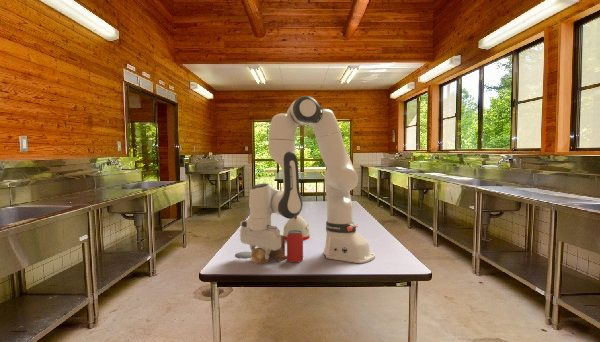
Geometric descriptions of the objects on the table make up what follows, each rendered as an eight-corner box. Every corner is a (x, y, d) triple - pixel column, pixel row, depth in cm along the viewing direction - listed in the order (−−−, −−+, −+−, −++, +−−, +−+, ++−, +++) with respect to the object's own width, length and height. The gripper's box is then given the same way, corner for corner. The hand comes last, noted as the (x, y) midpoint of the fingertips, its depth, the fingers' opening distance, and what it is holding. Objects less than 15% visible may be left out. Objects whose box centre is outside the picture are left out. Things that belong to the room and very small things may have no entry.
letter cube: (269, 260, 139) (268, 248, 139) (260, 264, 135) (260, 250, 135) (260, 258, 142) (260, 246, 142) (251, 261, 138) (251, 248, 138)
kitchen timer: (310, 234, 184) (310, 207, 183) (308, 241, 170) (308, 211, 170) (285, 234, 185) (285, 207, 185) (281, 240, 172) (281, 211, 171)
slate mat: (260, 254, 147) (260, 254, 147) (244, 259, 140) (244, 259, 140) (245, 250, 153) (245, 250, 153) (230, 255, 146) (230, 255, 146)
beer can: (294, 257, 144) (294, 229, 143) (306, 260, 140) (306, 231, 139) (283, 260, 139) (283, 231, 138) (295, 264, 135) (295, 234, 134)
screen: (287, 258, 142) (287, 234, 141) (279, 261, 138) (279, 237, 137) (268, 253, 149) (268, 231, 148) (260, 256, 145) (260, 233, 144)
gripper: (284, 225, 134) (284, 260, 134) (248, 219, 146) (248, 251, 147) (273, 228, 129) (274, 264, 129) (237, 221, 141) (237, 254, 142)
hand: (260, 257), depth 138 cm, fingers closed on letter cube, 5 cm apart
